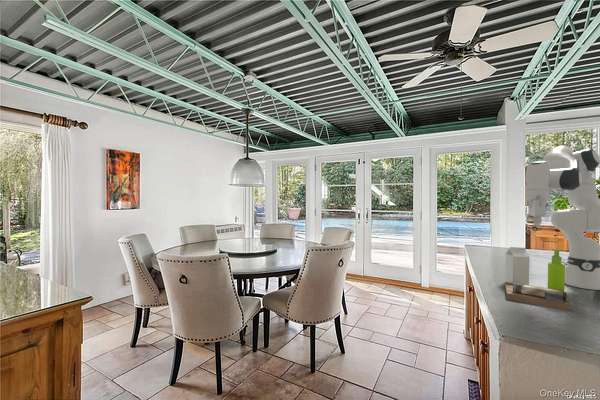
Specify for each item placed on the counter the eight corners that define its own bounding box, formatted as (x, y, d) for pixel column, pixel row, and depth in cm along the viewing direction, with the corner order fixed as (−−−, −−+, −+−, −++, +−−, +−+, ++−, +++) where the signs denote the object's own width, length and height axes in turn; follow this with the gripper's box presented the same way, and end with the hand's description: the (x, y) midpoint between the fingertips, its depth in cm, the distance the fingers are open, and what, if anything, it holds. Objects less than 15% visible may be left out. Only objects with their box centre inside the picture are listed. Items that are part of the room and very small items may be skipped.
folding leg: (513, 292, 119) (513, 284, 119) (512, 290, 122) (512, 282, 122) (566, 301, 109) (566, 293, 109) (564, 298, 112) (565, 290, 112)
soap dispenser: (569, 294, 125) (570, 251, 125) (549, 291, 129) (550, 249, 129) (565, 291, 130) (566, 249, 130) (546, 288, 134) (547, 247, 134)
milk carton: (528, 287, 136) (529, 248, 136) (512, 286, 137) (513, 248, 137) (520, 283, 143) (521, 246, 143) (505, 281, 144) (505, 245, 144)
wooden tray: (505, 286, 135) (505, 275, 135) (560, 295, 124) (560, 283, 124) (507, 299, 117) (507, 286, 117) (571, 311, 106) (572, 296, 106)
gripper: (550, 195, 116) (549, 227, 116) (543, 196, 133) (542, 225, 133) (530, 195, 120) (530, 226, 120) (526, 196, 137) (525, 224, 137)
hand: (536, 225), depth 127 cm, fingers closed
